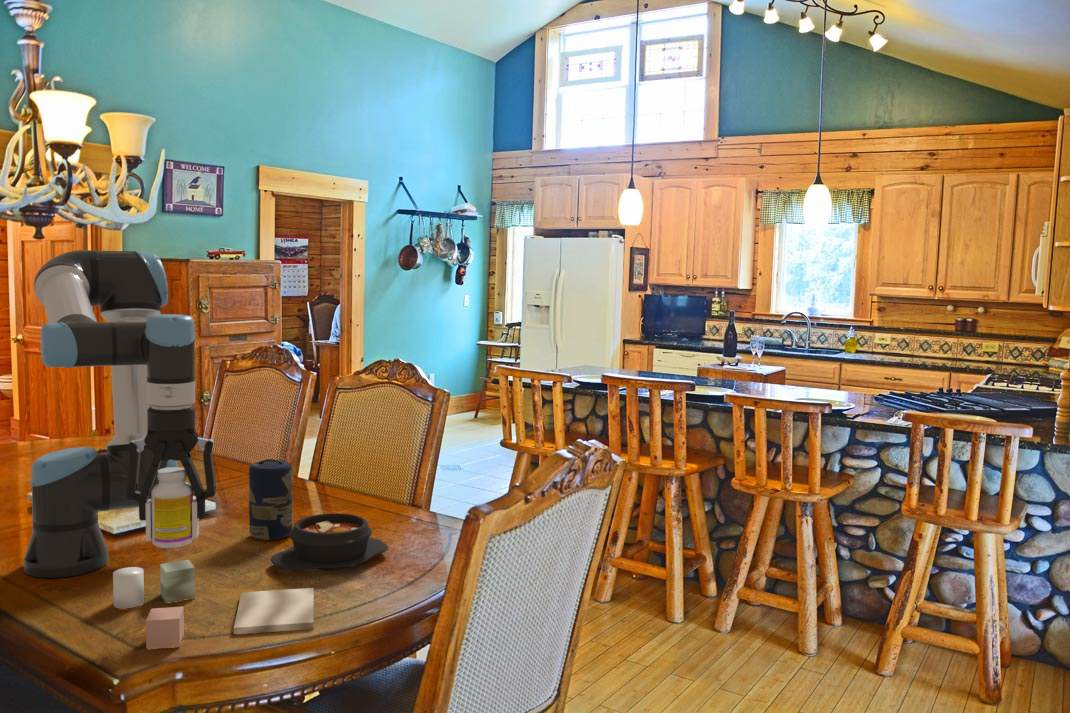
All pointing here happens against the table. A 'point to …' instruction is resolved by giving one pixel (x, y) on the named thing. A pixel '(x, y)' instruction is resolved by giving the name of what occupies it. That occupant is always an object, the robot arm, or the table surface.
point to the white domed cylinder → (128, 587)
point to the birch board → (275, 611)
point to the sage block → (177, 581)
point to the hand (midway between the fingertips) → (172, 537)
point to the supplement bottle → (171, 509)
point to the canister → (270, 499)
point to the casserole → (329, 543)
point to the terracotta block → (164, 627)
